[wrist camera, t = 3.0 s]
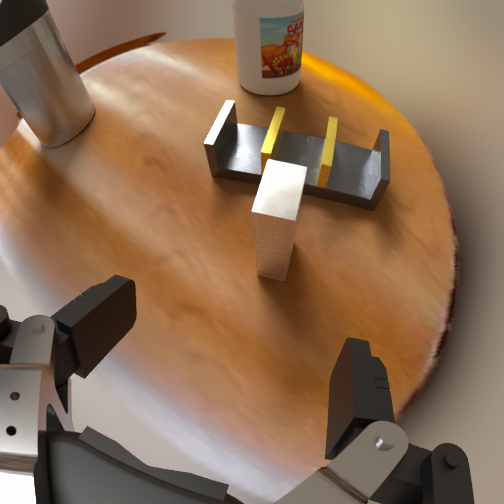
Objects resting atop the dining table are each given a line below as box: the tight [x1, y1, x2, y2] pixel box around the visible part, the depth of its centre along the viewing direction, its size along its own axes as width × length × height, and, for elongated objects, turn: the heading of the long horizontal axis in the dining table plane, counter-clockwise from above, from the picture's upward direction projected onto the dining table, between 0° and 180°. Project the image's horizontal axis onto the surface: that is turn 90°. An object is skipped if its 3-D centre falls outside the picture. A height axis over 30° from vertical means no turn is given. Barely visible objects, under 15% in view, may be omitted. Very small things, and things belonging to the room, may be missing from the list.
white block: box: [251, 159, 307, 282], centre depth 20 cm, size 4×2×10 cm, turn 165°
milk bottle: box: [232, 0, 304, 96], centre depth 25 cm, size 8×8×20 cm
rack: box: [204, 100, 390, 211], centre depth 26 cm, size 6×15×4 cm, turn 75°
